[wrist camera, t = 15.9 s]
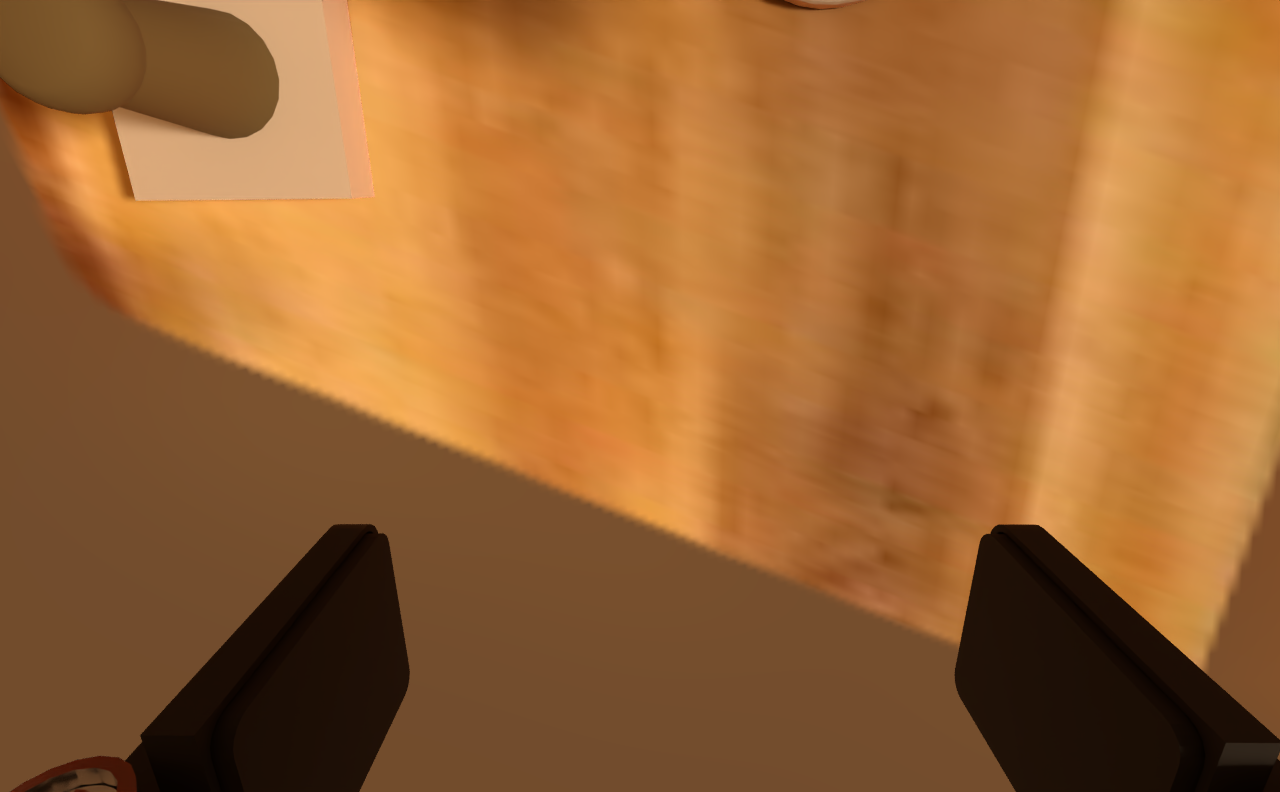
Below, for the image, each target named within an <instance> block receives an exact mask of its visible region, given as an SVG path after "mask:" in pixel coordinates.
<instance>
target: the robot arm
mask: <svg viewBox="0 0 1280 792" xmlns="http://www.w3.org/2000/svg"><path fill="white" fill-rule="evenodd" d="M784 1H787V2H790V3H792V4H795V5H797V6H803V7H810V8H817V9H826V8H840V7H845V6H849V5H852V4H856V3H859V2H863V1H866V0H784ZM409 674H410V671H409V663H408V657H407V650H406V644H405V638H404V632H403V626H402V620H401V614H400V608H399V601H398V595H397V589H396V583H395V577H394V571H393V565H392V558H391V552H390V546H389V541H388V538H387V536H386V535H385V534H378V531H377V530H376V528H375V526H373V525H371V524H338V525H333V526H332V527H331V528H330V529H329V530H328V531H327V532H326V533H325V534H324V535H323V536H322V537H321V538H320V539H319V541H318V542H317V543H316V544H315V545H314V546H313V547H312V548H311V549H310V550H309V552H308V553H307V554H306V555H305V556H304V557H303V558H302V559H301V560H300V561H299V562H298V564H297V565H296V566H295V567H294V568H293V569H292V570H291V571H290V572H289V573H288V575H287V576H286V577H285V578H284V579H283V580H282V581H281V582H280V583H279V584H278V585H277V587H276V588H275V589H274V590H273V591H272V592H271V593H270V594H269V595H268V596H267V597H266V599H265V600H264V601H263V602H262V603H261V604H260V605H259V606H258V607H257V608H256V609H255V611H254V612H253V613H252V614H251V615H250V616H249V617H248V618H247V619H246V620H245V621H244V623H243V624H242V625H241V626H240V627H239V628H238V629H237V630H236V631H235V632H234V633H233V635H232V636H231V637H230V638H229V639H228V640H227V641H226V642H225V643H224V644H223V646H221V648H220V649H219V650H218V651H217V652H216V653H215V654H214V655H213V656H212V657H211V659H210V660H209V661H208V662H207V663H206V664H205V665H204V666H203V667H202V668H201V670H200V671H199V672H198V673H197V674H196V675H195V676H194V677H193V678H192V679H191V680H190V682H189V683H188V684H187V685H186V686H185V687H184V688H183V689H182V690H181V691H180V692H179V693H178V695H177V696H176V697H175V698H174V699H173V700H172V701H171V702H170V703H169V704H168V705H167V707H166V708H165V709H164V710H163V711H162V712H161V713H160V714H159V715H158V716H157V718H156V719H155V720H154V721H153V722H152V723H151V724H150V725H149V726H148V727H147V729H145V731H144V732H143V733H142V734H141V739H142V743H141V744H140V745H139V746H138V747H137V748H136V749H135V751H134V752H133V753H132V754H131V755H130V756H129V757H128V758H127V759H126V760H125V761H124V760H122V759H121V758H119V757H109V756H96V757H89V758H83V759H77V760H74V761H72V762H69V763H66V764H63V765H60V766H57V767H54V768H51V769H49V770H47V771H45V772H43V773H41V774H39V775H37V776H35V777H33V778H31V779H29V780H28V781H25V782H24V783H22V784H20V785H19V786H17V787H16V788H14V789H13V790H11V791H10V792H359V791H360V789H361V787H362V785H363V783H364V781H365V778H366V776H367V774H368V772H369V770H370V768H371V766H372V764H373V761H374V759H375V757H376V755H377V753H378V751H379V749H380V747H381V745H382V743H383V741H384V738H385V736H386V734H387V732H388V730H389V728H390V726H391V724H392V722H393V719H394V717H395V715H396V713H397V711H398V709H399V707H400V705H401V702H402V701H403V698H404V696H405V694H406V691H407V688H408V683H409ZM955 683H956V688H957V691H958V694H959V696H960V698H961V700H962V701H963V703H964V705H965V707H966V708H967V710H968V712H969V713H970V715H971V717H972V718H973V720H974V722H975V723H976V725H977V727H978V729H979V730H980V732H981V733H982V735H983V737H984V738H985V740H986V742H987V744H988V745H989V747H990V749H991V750H992V752H993V754H994V756H995V757H996V759H997V761H998V762H999V764H1000V766H1001V767H1002V769H1003V771H1004V772H1005V774H1006V776H1007V777H1008V779H1009V781H1010V782H1011V784H1012V786H1013V788H1014V789H1015V791H1016V792H1280V761H1279V760H1278V759H1277V757H1278V755H1279V752H1280V740H1279V739H1278V738H1277V737H1276V736H1275V735H1274V734H1273V733H1272V732H1270V731H1269V730H1268V729H1267V728H1266V727H1265V726H1264V725H1263V724H1261V723H1260V722H1259V721H1258V720H1257V719H1256V718H1255V717H1254V716H1252V715H1251V714H1250V713H1249V712H1248V711H1247V710H1246V709H1245V708H1244V707H1242V706H1241V705H1240V704H1239V703H1238V702H1237V701H1236V700H1235V699H1234V698H1232V697H1231V696H1230V695H1229V694H1228V693H1227V692H1226V691H1225V690H1223V689H1222V688H1221V687H1220V686H1219V685H1218V684H1217V683H1216V682H1215V681H1213V680H1212V679H1211V678H1210V677H1209V676H1208V675H1207V674H1206V673H1204V672H1203V671H1202V670H1201V669H1200V668H1199V667H1198V666H1197V665H1196V664H1194V663H1193V662H1192V661H1191V660H1190V659H1189V658H1188V657H1187V656H1186V655H1184V654H1183V653H1182V652H1181V651H1180V650H1179V649H1178V648H1177V647H1175V646H1174V645H1173V644H1172V643H1171V642H1170V641H1169V640H1168V639H1167V638H1165V637H1164V636H1163V635H1162V634H1161V633H1160V632H1159V631H1158V630H1156V629H1155V628H1154V627H1153V626H1152V625H1151V624H1150V623H1149V622H1148V621H1146V620H1145V619H1144V618H1143V617H1142V616H1141V615H1140V614H1139V613H1137V612H1136V611H1135V610H1134V609H1133V608H1132V607H1131V606H1130V605H1129V604H1127V603H1126V602H1125V601H1124V600H1123V599H1122V598H1121V597H1120V596H1118V595H1117V594H1116V593H1115V592H1114V591H1113V590H1112V589H1111V588H1110V587H1108V586H1107V585H1106V584H1105V583H1104V582H1103V581H1102V580H1101V579H1099V578H1098V577H1097V576H1096V575H1095V574H1094V573H1093V572H1092V571H1091V570H1089V569H1088V568H1087V567H1086V566H1085V565H1084V564H1083V563H1082V562H1080V561H1079V560H1078V559H1077V558H1076V557H1075V556H1074V555H1073V554H1072V553H1070V552H1069V551H1068V550H1067V549H1066V548H1065V547H1064V546H1063V545H1061V544H1060V543H1059V542H1058V541H1057V540H1056V539H1055V538H1054V537H1053V536H1051V535H1050V534H1049V533H1048V532H1047V531H1046V530H1045V529H1044V528H1042V527H1040V526H1039V525H997V526H995V527H994V528H993V529H992V531H991V534H985V535H983V537H982V538H981V541H980V544H979V549H978V554H977V560H976V565H975V570H974V575H973V580H972V585H971V590H970V596H969V601H968V606H967V611H966V616H965V621H964V626H963V632H962V637H961V642H960V647H959V652H958V658H957V662H956V668H955Z"/></svg>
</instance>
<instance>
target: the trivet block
mask: <svg viewBox="0 0 1280 792" xmlns="http://www.w3.org/2000/svg"><path fill="white" fill-rule="evenodd" d="M161 1H167V2H173V3H179V4H185V5H191V6H197V7H203V8H209V9H214V10H218V11H222V12H227V13H230V14H232V15H234V16H235V17H237V18H239V19H240V20H242V21H244V22H245V23H247V24H248V25H249V26H250V27H251V28H252V29H253V30H254V31H255V32H256V33H257V34H258V35H259V36H260V37H261V38H262V39H263V40H264V42H265V44H266V46H267V48H268V49H269V51H270V53H271V55H272V56H273V58H274V61H275V65H276V69H277V73H278V77H279V100H278V103H277V106H276V108H275V111H274V114H273V117H272V118H271V119H270V120H269V121H268V123H267V124H266V125H265V126H264V127H263V128H262V129H261V130H260V131H258V132H256V133H254V134H252V135H250V136H248V137H244V138H235V139H228V138H223V137H219V136H214V135H210V134H207V133H204V132H200V131H197V130H194V129H190V128H187V127H184V126H181V125H177V124H174V123H171V122H167V121H164V120H161V119H157V118H154V117H151V116H147V115H144V114H141V113H137V112H134V111H131V110H127V109H124V108H121V107H119V108H117V109H115V110H112V113H113V116H114V120H115V124H116V128H117V132H118V135H119V139H120V143H121V147H122V151H123V155H124V158H125V162H126V166H127V170H128V174H129V178H130V181H131V185H132V189H133V193H134V197H135V200H136V201H151V200H255V199H353V198H367V197H375V195H374V188H373V181H372V174H371V166H370V159H369V152H368V145H367V138H366V131H365V124H364V117H363V110H362V103H361V96H360V89H359V82H358V75H357V68H356V61H355V54H354V47H353V39H352V32H351V25H350V18H349V11H348V4H347V0H161Z"/></svg>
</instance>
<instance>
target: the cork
mask: <svg viewBox="0 0 1280 792" xmlns="http://www.w3.org/2000/svg"><path fill="white" fill-rule="evenodd" d="M0 77H1V78H2V79H3V80H4V81H5V82H6V83H7V84H8V85H9V86H11V87H12V88H13V89H14V90H15V91H16V92H18V93H20V94H22V95H23V96H25V97H27V98H29V99H31V100H33V101H34V102H36V103H38V104H41V105H43V106H46V107H48V108H51V109H56V110H60V111H65V112H69V113H76V114H92V113H101V112H107V111H111V110H115V109H117V108H119V107H121V108H124V109H127V110H131V111H134V112H137V113H141V114H144V115H147V116H151V117H154V118H157V119H161V120H164V121H167V122H171V123H174V124H177V125H181V126H184V127H187V128H190V129H194V130H197V131H200V132H204V133H207V134H210V135H214V136H219V137H223V138H228V139H235V138H244V137H248V136H250V135H252V134H254V133H256V132H258V131H260V130H261V129H262V128H263V127H264V126H265V125H266V124H267V123H268V121H269V120H270V119H271V118H272V117H273V114H274V111H275V108H276V106H277V103H278V100H279V77H278V73H277V69H276V65H275V61H274V58H273V56H272V55H271V53H270V51H269V49H268V48H267V46H266V44H265V42H264V40H263V39H262V38H261V37H260V36H259V35H258V34H257V33H256V32H255V31H254V30H253V29H252V28H251V27H250V26H249V25H248V24H247V23H245V22H244V21H242V20H240V19H239V18H237V17H235V16H234V15H232V14H230V13H227V12H222V11H218V10H214V9H209V8H203V7H197V6H191V5H185V4H179V3H173V2H167V1H161V0H0Z"/></svg>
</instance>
